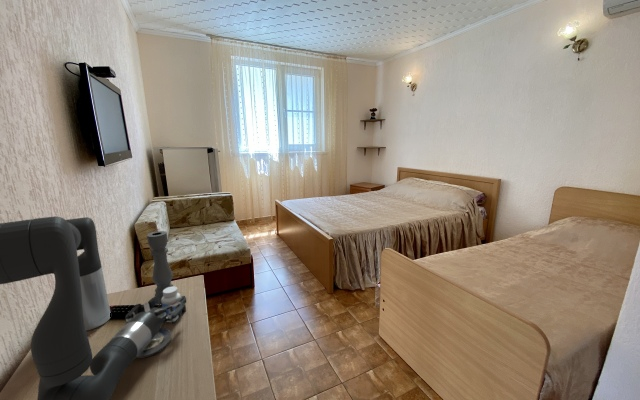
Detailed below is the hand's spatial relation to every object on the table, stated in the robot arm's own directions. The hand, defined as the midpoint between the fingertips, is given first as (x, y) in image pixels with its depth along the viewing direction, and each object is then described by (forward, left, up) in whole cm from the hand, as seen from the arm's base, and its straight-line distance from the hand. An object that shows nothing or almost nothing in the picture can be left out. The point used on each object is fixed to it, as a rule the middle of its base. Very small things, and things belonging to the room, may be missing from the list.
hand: (170, 298), depth 82 cm
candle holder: (-10, +6, -7) cm, 14 cm away
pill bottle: (0, 0, -7) cm, 7 cm away
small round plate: (+4, -11, -7) cm, 13 cm away
